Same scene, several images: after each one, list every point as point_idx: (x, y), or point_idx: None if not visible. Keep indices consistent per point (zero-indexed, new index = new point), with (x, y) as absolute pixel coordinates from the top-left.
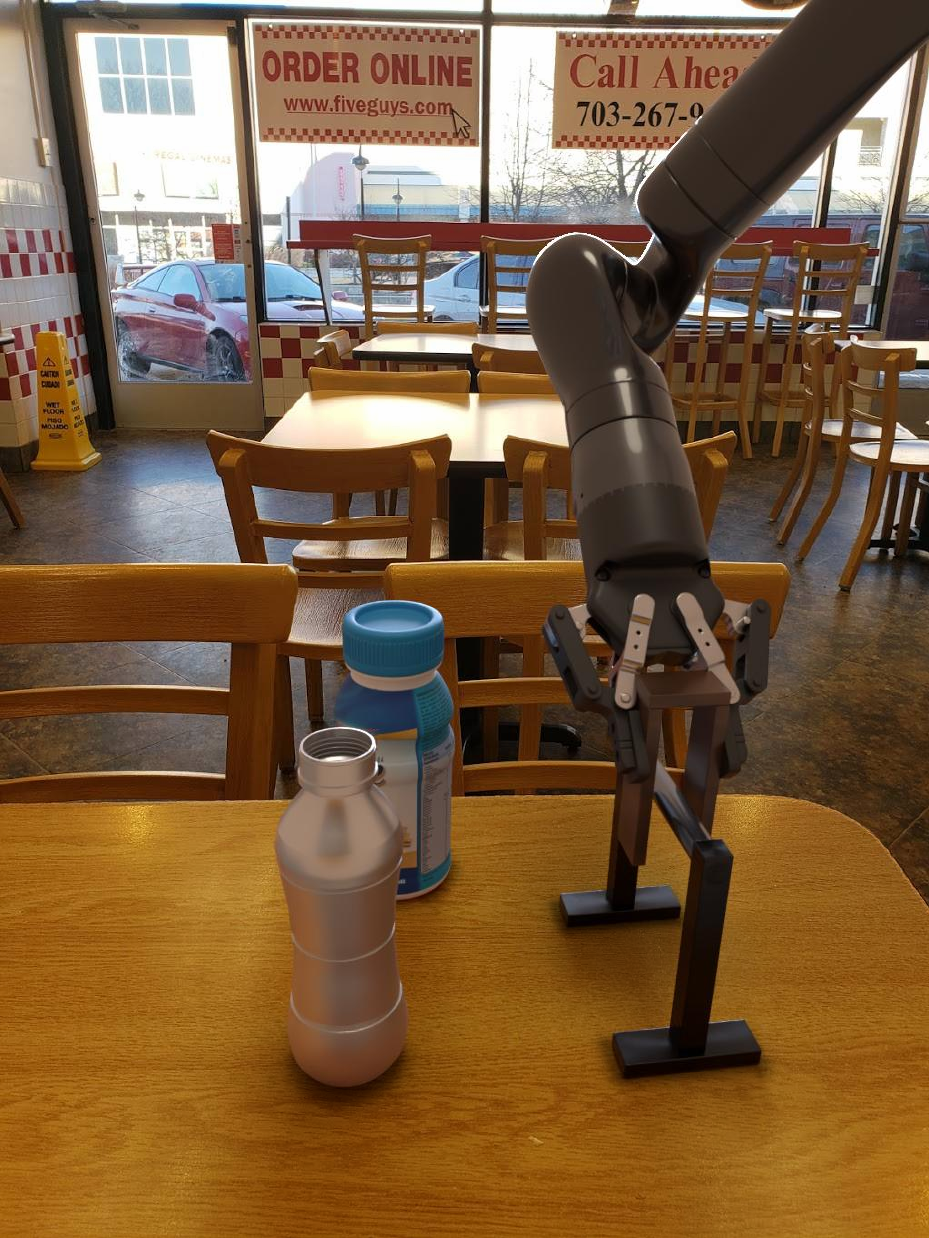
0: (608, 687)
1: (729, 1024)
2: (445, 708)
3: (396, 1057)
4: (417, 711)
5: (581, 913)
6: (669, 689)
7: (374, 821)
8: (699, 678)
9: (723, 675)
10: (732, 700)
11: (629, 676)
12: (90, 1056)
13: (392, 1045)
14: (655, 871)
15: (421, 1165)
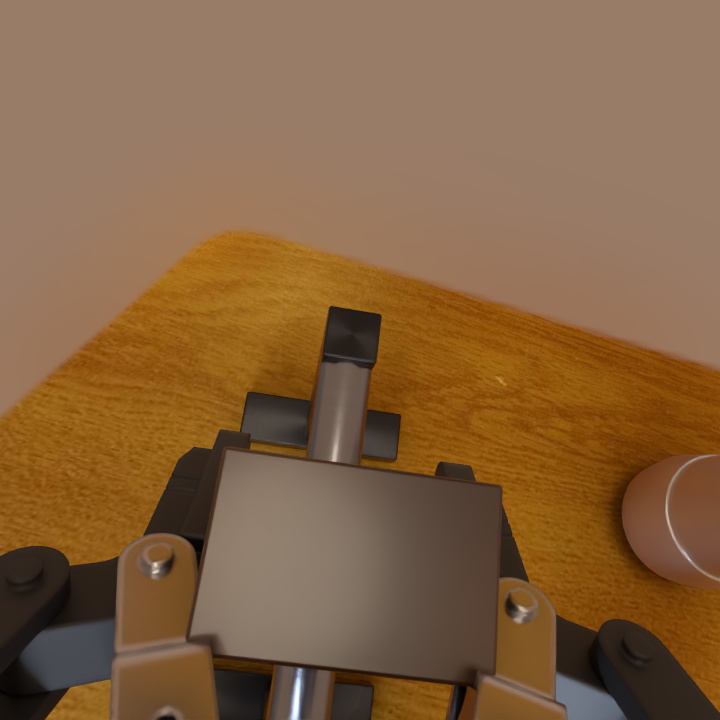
0: (567, 675)
1: (261, 433)
2: None
3: (633, 479)
4: None
5: (353, 686)
6: (424, 517)
7: None
8: (274, 579)
9: (146, 616)
10: (163, 538)
11: (514, 672)
12: None
13: (653, 466)
14: None
15: (601, 385)
